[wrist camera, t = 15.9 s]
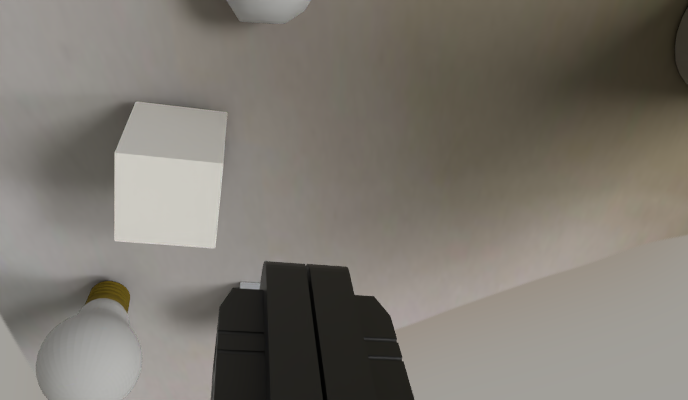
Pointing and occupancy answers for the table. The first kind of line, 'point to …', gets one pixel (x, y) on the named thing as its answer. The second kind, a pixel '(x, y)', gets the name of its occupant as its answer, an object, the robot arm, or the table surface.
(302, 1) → the tube
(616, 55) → the table surface
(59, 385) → the light bulb
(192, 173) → the off-white rectangular block
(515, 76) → the table surface
